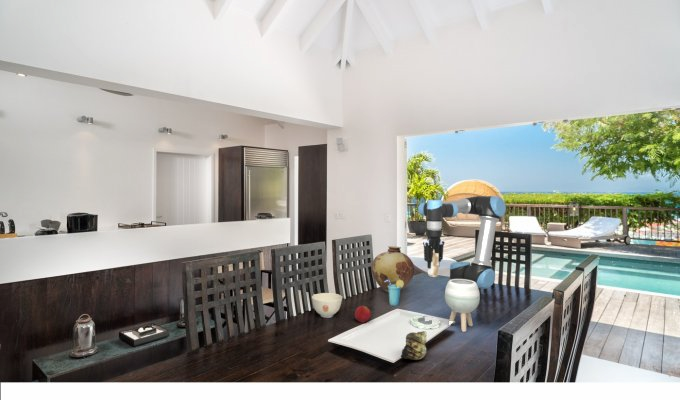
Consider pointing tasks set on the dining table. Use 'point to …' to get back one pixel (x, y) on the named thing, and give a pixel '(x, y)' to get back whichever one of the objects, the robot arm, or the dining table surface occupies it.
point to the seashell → (415, 346)
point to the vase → (392, 268)
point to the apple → (362, 314)
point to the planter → (462, 299)
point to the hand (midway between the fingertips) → (433, 273)
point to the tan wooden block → (435, 264)
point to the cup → (394, 292)
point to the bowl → (327, 303)
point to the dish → (422, 322)
